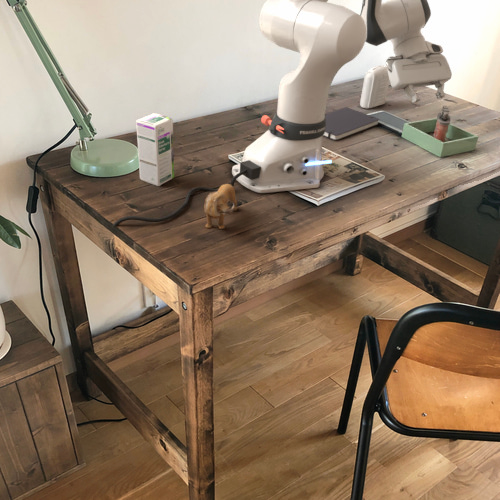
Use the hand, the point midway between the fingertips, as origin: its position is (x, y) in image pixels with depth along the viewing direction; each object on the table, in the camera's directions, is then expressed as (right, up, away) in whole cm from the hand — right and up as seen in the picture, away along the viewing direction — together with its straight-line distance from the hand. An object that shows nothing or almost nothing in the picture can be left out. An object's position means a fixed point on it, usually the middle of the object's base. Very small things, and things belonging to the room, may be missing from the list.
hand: (429, 99), depth 160 cm
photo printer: (-10, +5, +25) cm, 28 cm away
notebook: (-23, -6, +8) cm, 25 cm away
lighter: (+3, -12, +1) cm, 13 cm away
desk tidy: (+3, -12, +1) cm, 12 cm away
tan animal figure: (-56, -36, -42) cm, 78 cm away
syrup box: (-71, -26, -28) cm, 81 cm away
